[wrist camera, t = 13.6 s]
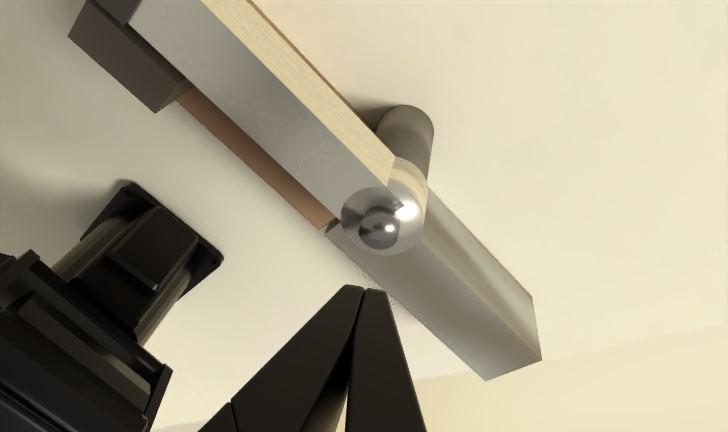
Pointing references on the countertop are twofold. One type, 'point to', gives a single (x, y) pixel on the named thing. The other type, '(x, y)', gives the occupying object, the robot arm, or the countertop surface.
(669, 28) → the countertop surface
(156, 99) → the wooden block clamp
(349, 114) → the bar
